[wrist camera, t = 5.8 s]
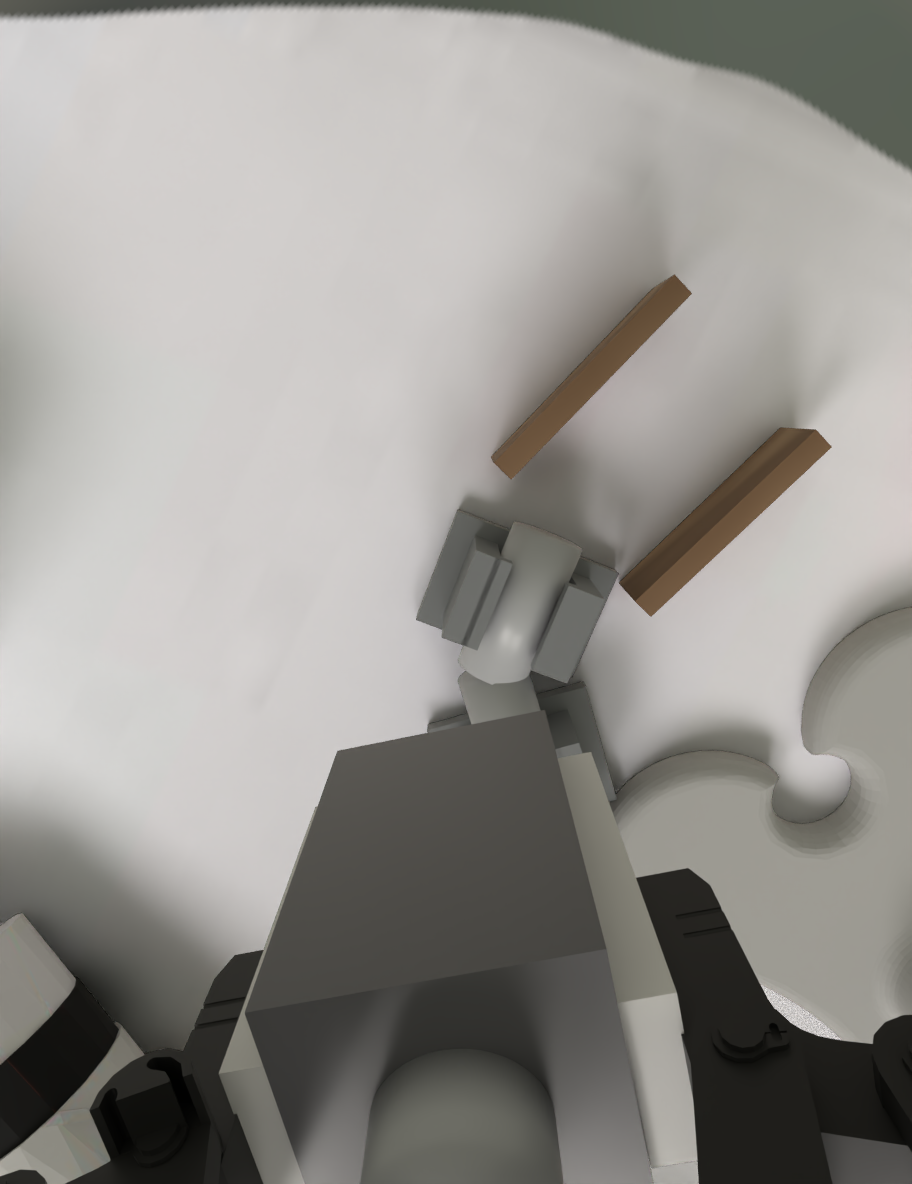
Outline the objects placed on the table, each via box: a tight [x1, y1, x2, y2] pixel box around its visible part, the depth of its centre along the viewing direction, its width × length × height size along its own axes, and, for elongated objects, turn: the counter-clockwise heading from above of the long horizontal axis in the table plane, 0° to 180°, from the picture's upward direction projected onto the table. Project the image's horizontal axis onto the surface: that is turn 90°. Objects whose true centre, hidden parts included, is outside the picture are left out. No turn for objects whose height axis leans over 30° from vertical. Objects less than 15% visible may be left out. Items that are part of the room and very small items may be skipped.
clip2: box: [416, 510, 619, 685], centre depth 27 cm, size 5×6×4 cm
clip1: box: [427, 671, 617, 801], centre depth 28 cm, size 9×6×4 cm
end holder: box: [491, 275, 831, 617], centre depth 26 cm, size 8×8×3 cm
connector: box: [245, 710, 653, 1184], centre depth 12 cm, size 4×4×8 cm
